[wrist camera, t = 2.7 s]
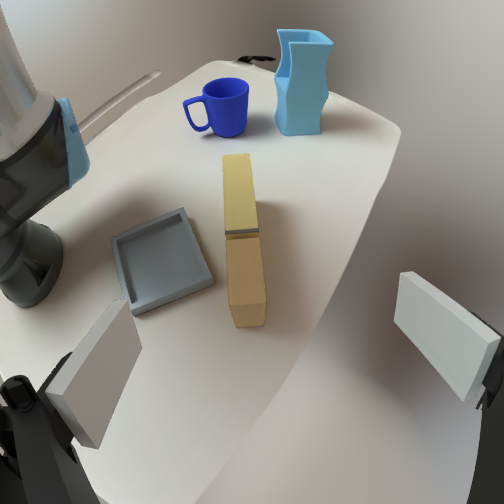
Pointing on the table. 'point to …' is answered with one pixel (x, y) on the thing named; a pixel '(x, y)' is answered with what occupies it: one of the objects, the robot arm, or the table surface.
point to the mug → (223, 106)
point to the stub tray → (159, 262)
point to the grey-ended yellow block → (239, 198)
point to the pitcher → (301, 81)
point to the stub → (246, 282)
